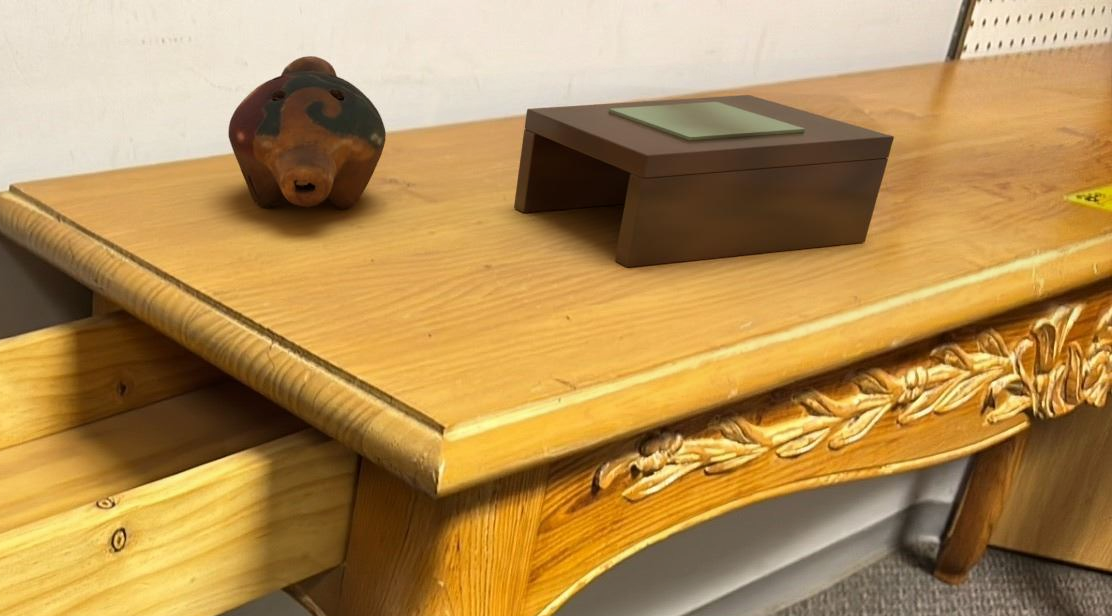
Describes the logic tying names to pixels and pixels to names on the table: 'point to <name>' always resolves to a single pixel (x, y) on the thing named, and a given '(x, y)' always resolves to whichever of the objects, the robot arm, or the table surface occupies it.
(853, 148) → the shelf
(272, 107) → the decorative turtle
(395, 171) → the table surface
